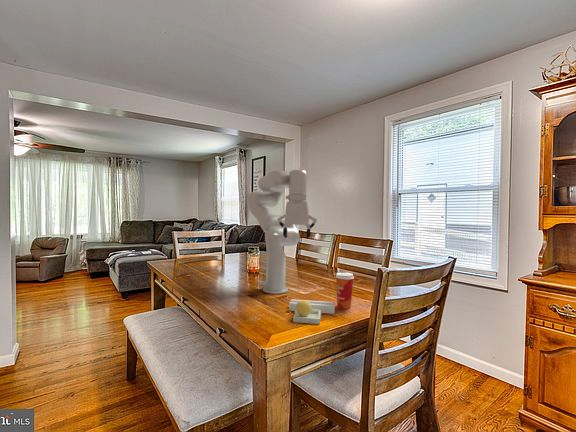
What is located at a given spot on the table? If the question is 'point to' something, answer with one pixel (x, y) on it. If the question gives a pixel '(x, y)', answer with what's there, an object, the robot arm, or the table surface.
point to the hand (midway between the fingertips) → (296, 237)
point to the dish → (308, 317)
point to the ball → (303, 308)
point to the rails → (315, 306)
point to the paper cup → (344, 290)
